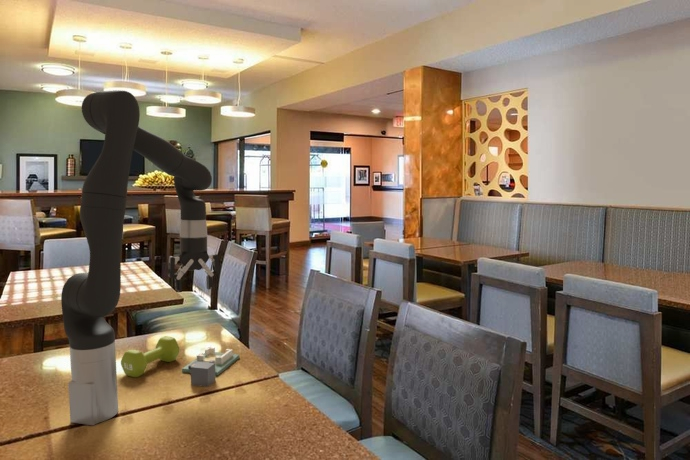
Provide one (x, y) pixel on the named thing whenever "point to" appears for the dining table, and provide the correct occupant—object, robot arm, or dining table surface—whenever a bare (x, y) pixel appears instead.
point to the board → (214, 360)
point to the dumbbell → (149, 356)
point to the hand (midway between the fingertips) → (194, 290)
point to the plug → (202, 374)
